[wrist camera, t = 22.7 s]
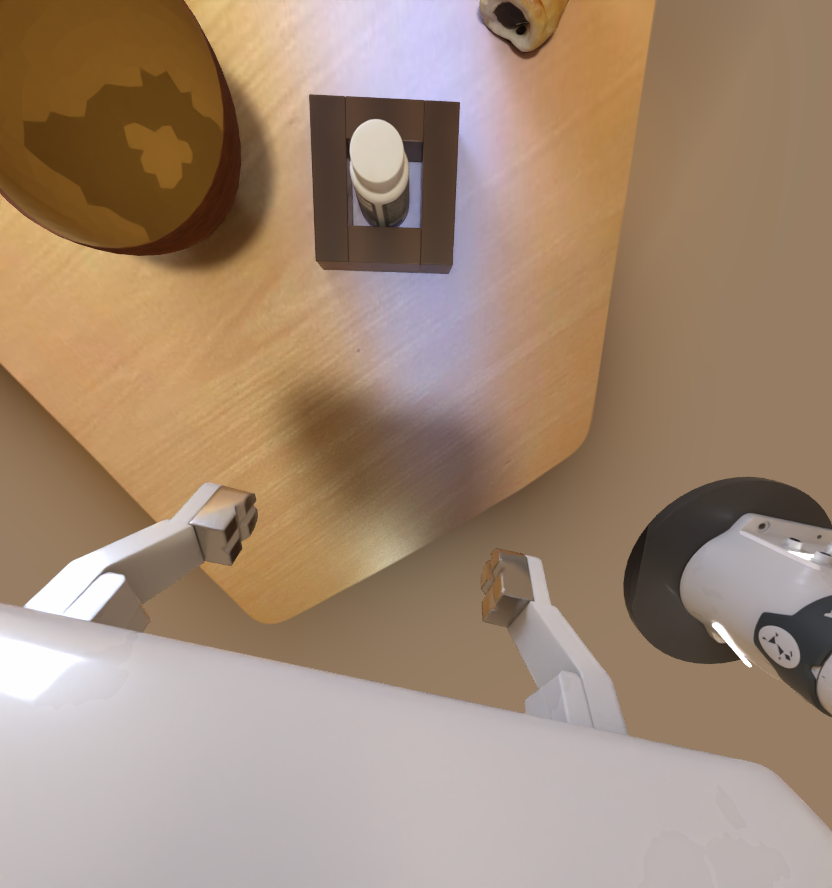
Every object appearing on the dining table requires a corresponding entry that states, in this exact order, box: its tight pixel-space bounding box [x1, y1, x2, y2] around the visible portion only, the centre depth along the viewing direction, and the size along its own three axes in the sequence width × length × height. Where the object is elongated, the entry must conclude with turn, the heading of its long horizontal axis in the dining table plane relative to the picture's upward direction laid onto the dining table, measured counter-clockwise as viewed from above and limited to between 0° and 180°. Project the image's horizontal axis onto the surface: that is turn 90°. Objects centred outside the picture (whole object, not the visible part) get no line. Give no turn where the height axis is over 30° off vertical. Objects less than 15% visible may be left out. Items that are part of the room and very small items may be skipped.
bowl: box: [0, 0, 241, 256], centre depth 27 cm, size 18×18×10 cm
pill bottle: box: [350, 119, 409, 227], centre depth 29 cm, size 5×5×8 cm
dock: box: [309, 95, 460, 274], centre depth 31 cm, size 13×13×3 cm
